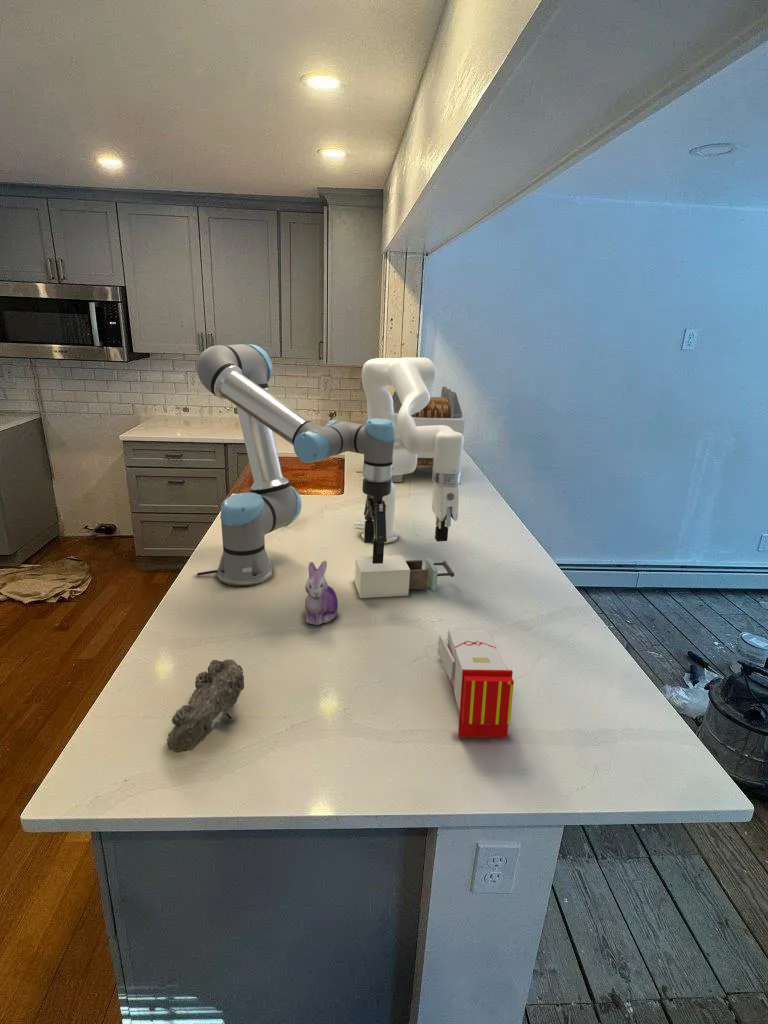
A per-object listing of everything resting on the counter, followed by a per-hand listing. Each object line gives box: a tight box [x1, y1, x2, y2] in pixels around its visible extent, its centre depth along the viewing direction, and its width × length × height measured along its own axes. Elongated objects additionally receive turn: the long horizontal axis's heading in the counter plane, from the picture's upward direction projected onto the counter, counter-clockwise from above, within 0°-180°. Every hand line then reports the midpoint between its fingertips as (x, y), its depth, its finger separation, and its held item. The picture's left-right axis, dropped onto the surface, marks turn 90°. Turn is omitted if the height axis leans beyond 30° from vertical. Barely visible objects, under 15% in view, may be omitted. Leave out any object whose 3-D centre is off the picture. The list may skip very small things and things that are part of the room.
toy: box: [437, 628, 515, 738], centre depth 117 cm, size 12×13×30 cm
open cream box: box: [354, 554, 410, 599], centre depth 159 cm, size 14×10×8 cm
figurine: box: [304, 560, 339, 626], centre depth 142 cm, size 9×10×15 cm
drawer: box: [405, 557, 456, 591], centre depth 161 cm, size 18×8×6 cm, turn 101°
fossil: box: [166, 658, 245, 754], centre depth 106 cm, size 22×10×15 cm
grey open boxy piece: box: [390, 386, 465, 483], centre depth 268 cm, size 34×33×41 cm
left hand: (373, 552), depth 156 cm, fingers open, 13 cm apart
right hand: (441, 540), depth 159 cm, fingers closed
